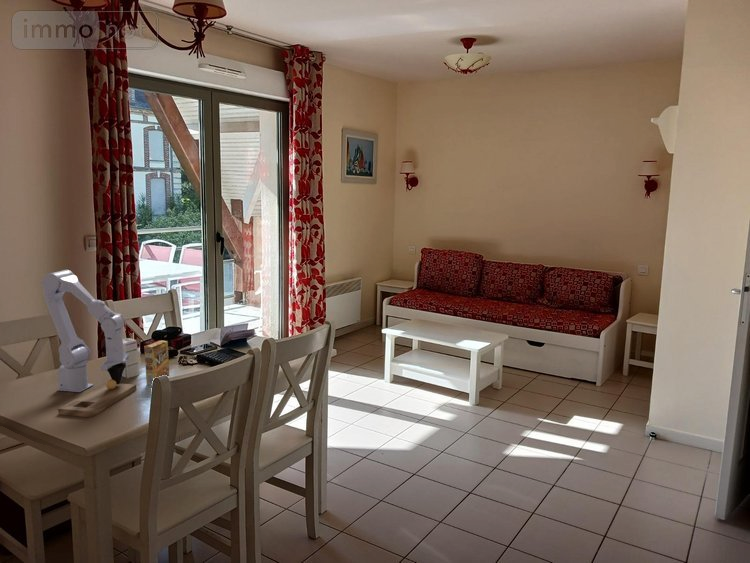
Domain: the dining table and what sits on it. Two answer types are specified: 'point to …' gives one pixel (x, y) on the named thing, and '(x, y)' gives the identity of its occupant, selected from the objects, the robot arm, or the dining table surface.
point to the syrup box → (130, 358)
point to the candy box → (156, 360)
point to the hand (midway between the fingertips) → (116, 383)
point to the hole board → (96, 400)
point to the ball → (111, 384)
